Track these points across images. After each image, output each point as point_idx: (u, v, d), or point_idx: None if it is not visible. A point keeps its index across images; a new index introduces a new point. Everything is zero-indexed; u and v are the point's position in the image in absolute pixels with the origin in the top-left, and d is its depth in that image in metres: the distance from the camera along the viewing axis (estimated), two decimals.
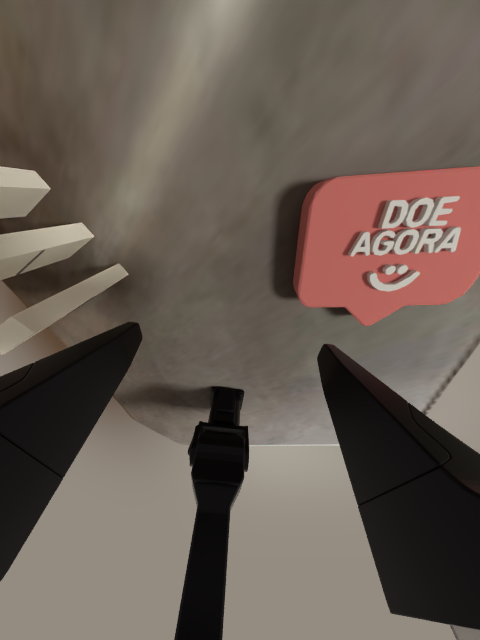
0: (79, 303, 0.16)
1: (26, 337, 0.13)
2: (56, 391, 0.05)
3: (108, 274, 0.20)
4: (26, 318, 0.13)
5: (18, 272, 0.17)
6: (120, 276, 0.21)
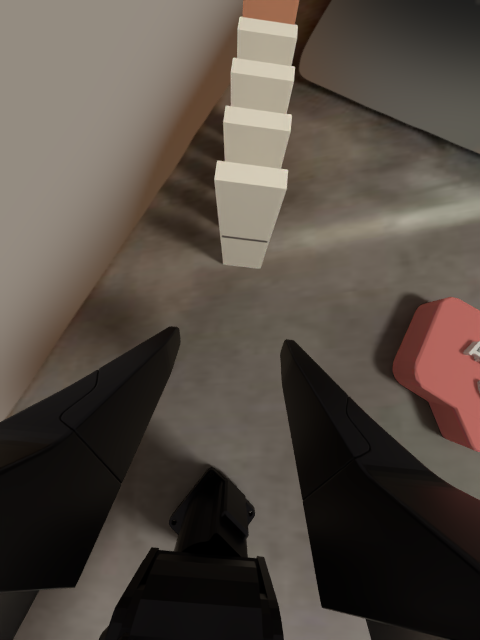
0: (273, 228, 0.16)
1: (270, 186, 0.12)
2: (121, 397, 0.05)
3: None
4: None
5: None
6: (262, 261, 0.23)
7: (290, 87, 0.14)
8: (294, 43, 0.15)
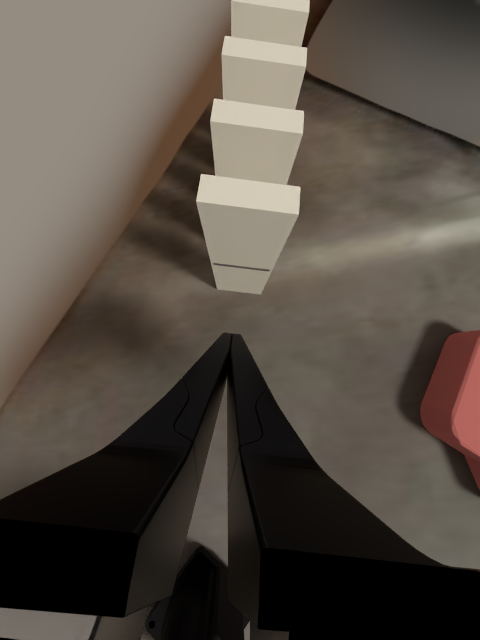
0: (277, 257, 0.13)
1: (276, 210, 0.09)
2: None
3: None
4: None
5: None
6: (262, 288, 0.19)
7: (301, 75, 0.11)
8: (305, 19, 0.12)
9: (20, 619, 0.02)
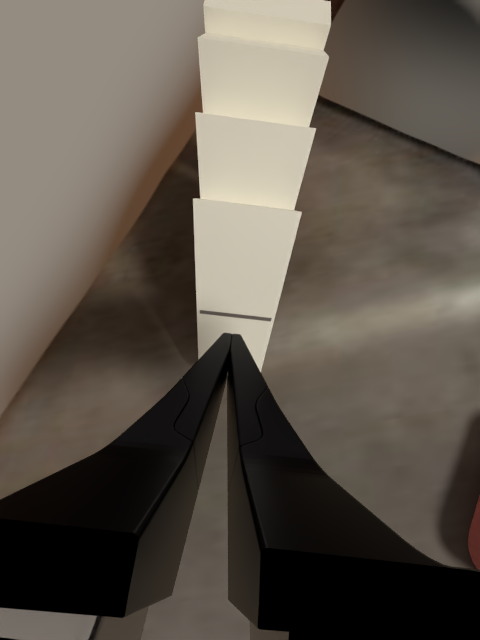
0: (280, 293, 0.11)
1: (277, 209, 0.08)
2: None
3: None
4: None
5: None
6: (261, 365, 0.14)
7: (320, 71, 0.07)
8: (324, 36, 0.07)
9: (20, 619, 0.02)
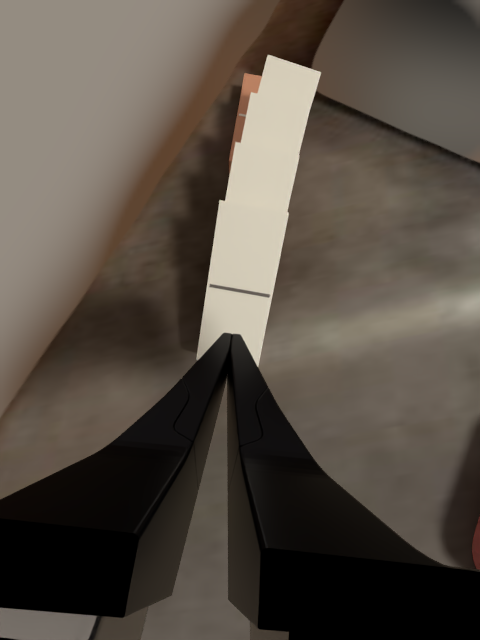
0: (276, 272, 0.13)
1: (273, 210, 0.13)
2: None
3: None
4: None
5: None
6: (260, 352, 0.14)
7: (307, 110, 0.15)
8: (319, 74, 0.16)
9: (20, 619, 0.02)
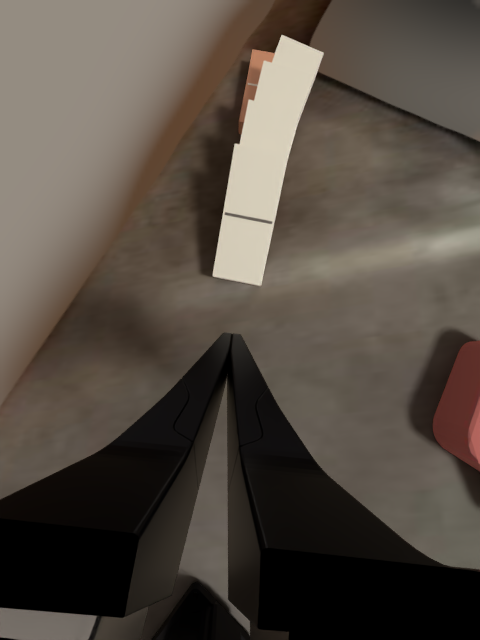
0: None
1: (276, 152, 0.16)
2: None
3: None
4: None
5: None
6: (263, 271, 0.18)
7: (308, 77, 0.18)
8: (321, 54, 0.20)
9: (20, 618, 0.02)
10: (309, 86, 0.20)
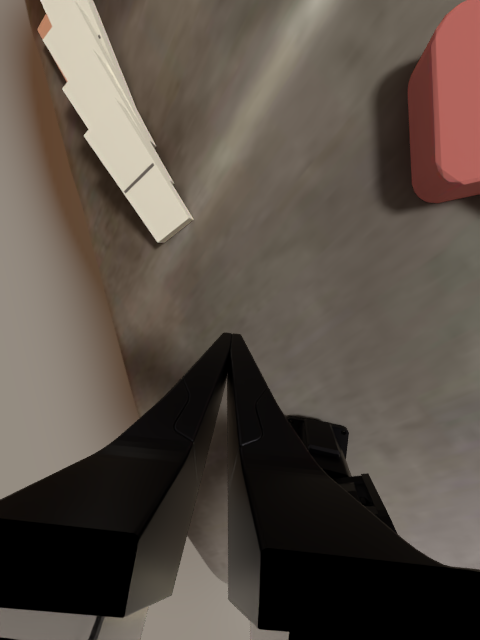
0: (144, 144, 0.18)
1: (108, 106, 0.18)
2: None
3: (178, 197, 0.21)
4: (125, 110, 0.18)
5: None
6: (182, 205, 0.20)
7: (74, 3, 0.17)
8: None
9: (20, 618, 0.02)
10: (88, 7, 0.19)
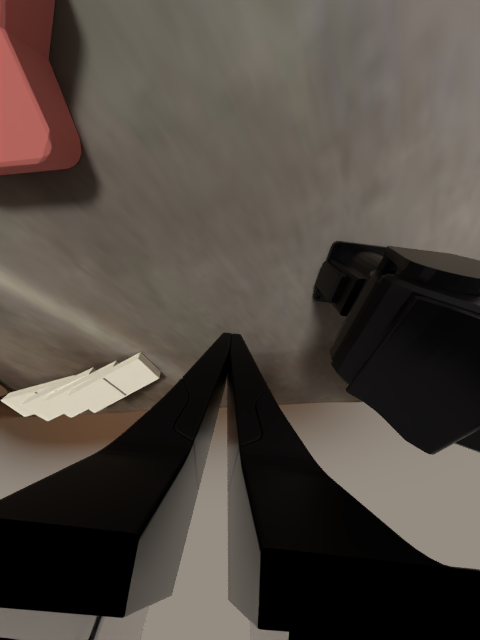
0: (92, 382, 0.27)
1: (74, 399, 0.27)
2: None
3: (124, 362, 0.28)
4: (74, 389, 0.28)
5: None
6: (129, 362, 0.27)
7: (22, 405, 0.29)
8: (2, 400, 0.31)
9: (20, 619, 0.02)
10: (22, 395, 0.31)
